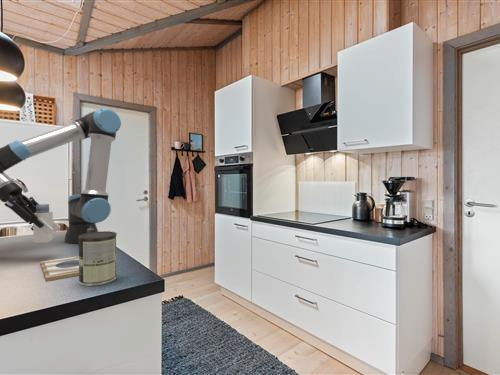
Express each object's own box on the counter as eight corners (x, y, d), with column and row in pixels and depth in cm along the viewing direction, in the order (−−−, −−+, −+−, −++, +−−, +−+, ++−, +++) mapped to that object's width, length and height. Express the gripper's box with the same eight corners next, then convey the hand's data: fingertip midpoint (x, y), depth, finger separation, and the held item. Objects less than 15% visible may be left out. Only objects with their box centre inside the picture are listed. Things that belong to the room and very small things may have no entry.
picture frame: (40, 264, 101) (40, 260, 101) (90, 256, 111) (90, 253, 111) (46, 281, 84) (46, 276, 84) (104, 270, 95) (104, 266, 95)
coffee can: (70, 283, 83) (69, 235, 83) (100, 272, 93) (100, 230, 92) (95, 288, 79) (95, 238, 79) (124, 276, 89) (124, 232, 89)
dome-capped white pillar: (40, 239, 110) (39, 204, 109) (53, 239, 110) (52, 204, 110) (33, 242, 105) (32, 205, 105) (46, 242, 106) (45, 205, 105)
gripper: (13, 194, 113) (58, 233, 116) (-22, 197, 96) (32, 243, 99) (27, 181, 114) (72, 220, 117) (-5, 181, 97) (48, 228, 100)
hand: (54, 230), depth 108 cm, fingers closed on dome-capped white pillar, 4 cm apart
